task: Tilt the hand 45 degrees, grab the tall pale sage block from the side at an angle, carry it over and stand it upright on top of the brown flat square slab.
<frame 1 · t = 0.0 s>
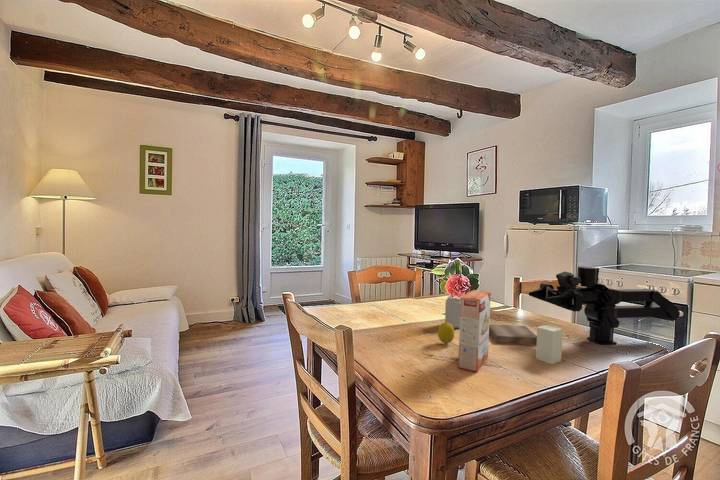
hand: (536, 296, 122), 17 cm above the table, tool horizontal, fingers open, 9 cm apart
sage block: (548, 359, 108), on the table
brown flat square slab: (511, 338, 129), on the table
cracker box: (474, 363, 106), on the table
can: (454, 326, 142), on the table
lemon: (445, 344, 121), on the table
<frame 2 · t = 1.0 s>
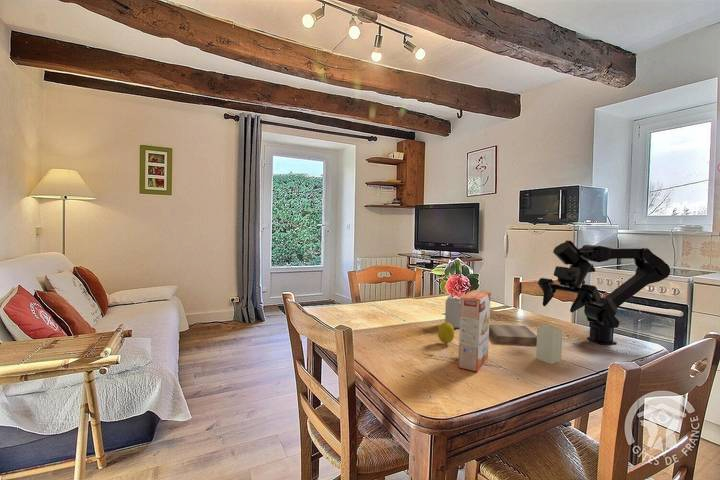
hand: (556, 308, 117), 14 cm above the table, tool tilted 45°, fingers open, 9 cm apart
nothing on the table moved.
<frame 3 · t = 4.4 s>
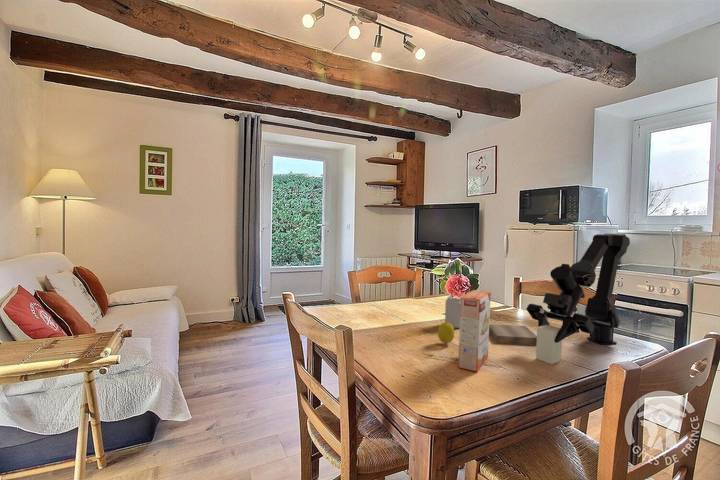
hand: (546, 339, 107), 7 cm above the table, tool tilted 45°, fingers closed on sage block, 5 cm apart
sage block: (548, 359, 108), on the table, touching gripper
everything else where it was.
when the fingers open (9 cm above the table, at t = 10.9 s): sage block stays where it is, point 2 cm above the table.
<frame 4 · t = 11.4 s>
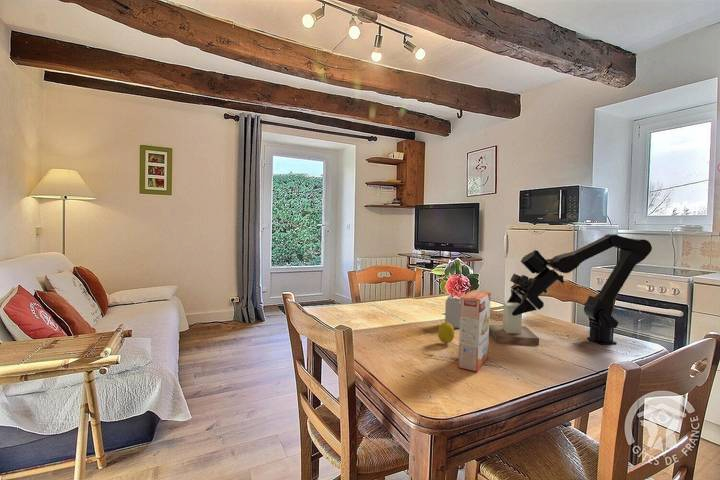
hand: (508, 311, 129), 10 cm above the table, tool tilted 45°, fingers open, 9 cm apart
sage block: (511, 330, 129), point 2 cm above the table
everything else where it was.
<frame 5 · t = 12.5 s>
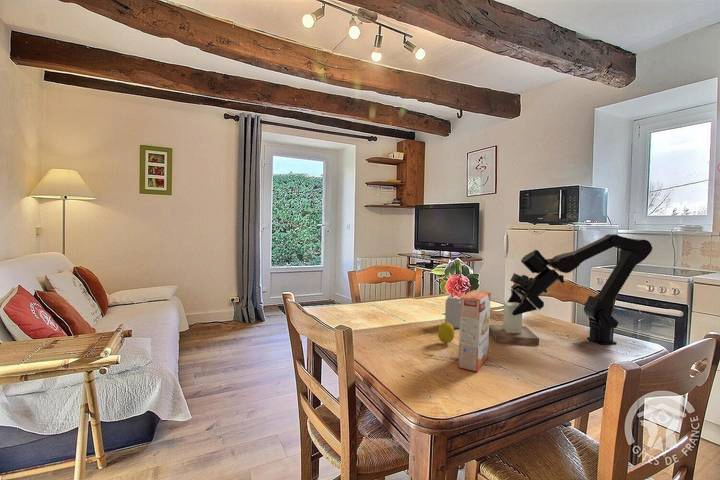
hand: (508, 311, 129), 10 cm above the table, tool tilted 45°, fingers open, 9 cm apart
nothing on the table moved.
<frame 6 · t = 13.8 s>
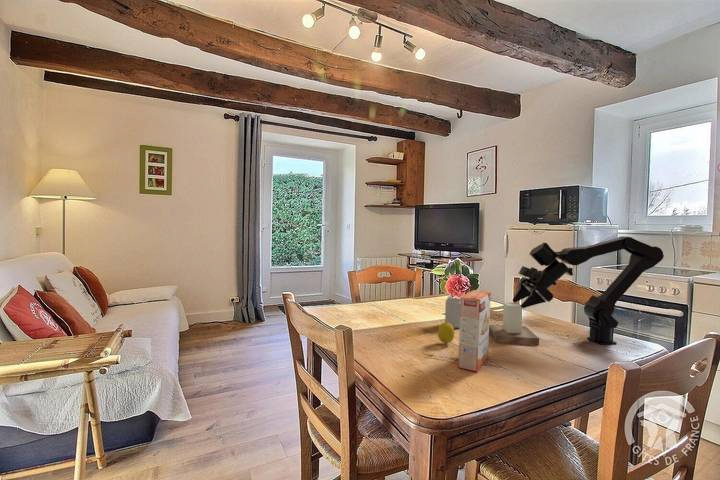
hand: (517, 304, 128), 12 cm above the table, tool tilted 45°, fingers open, 9 cm apart
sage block: (512, 330, 129), point 2 cm above the table, touching brown flat square slab
brown flat square slab: (511, 338, 129), on the table, touching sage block
everything else where it was.
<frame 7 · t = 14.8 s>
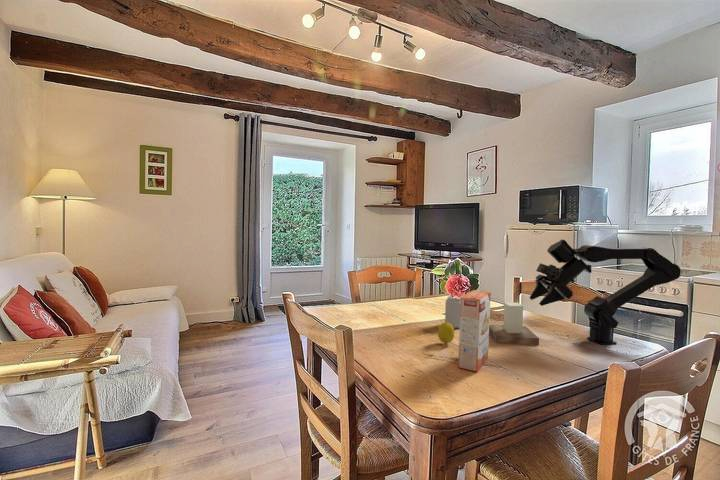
hand: (535, 301, 128), 14 cm above the table, tool tilted 45°, fingers open, 9 cm apart
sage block: (512, 331, 129), point 2 cm above the table
brown flat square slab: (511, 338, 129), on the table
everything else where it was.
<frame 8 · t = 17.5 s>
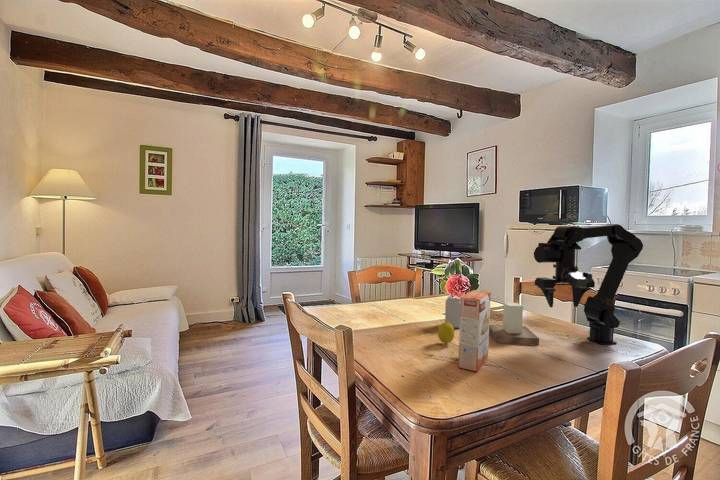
hand: (563, 307, 122), 13 cm above the table, tool pointing down, fingers open, 9 cm apart
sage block: (512, 331, 129), point 2 cm above the table, touching brown flat square slab
brown flat square slab: (511, 339, 129), on the table, touching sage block
everything else where it was.
at the end: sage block inside the target area on the brown flat square slab (0.4 cm from its centre), point 3.0 cm above the brown flat square slab's base; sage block tilted 1°; the gripper is holding nothing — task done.
